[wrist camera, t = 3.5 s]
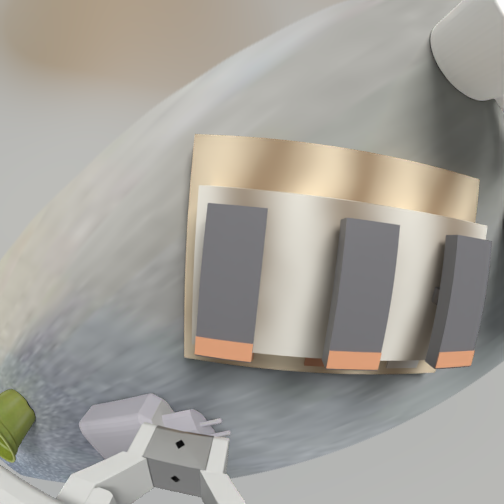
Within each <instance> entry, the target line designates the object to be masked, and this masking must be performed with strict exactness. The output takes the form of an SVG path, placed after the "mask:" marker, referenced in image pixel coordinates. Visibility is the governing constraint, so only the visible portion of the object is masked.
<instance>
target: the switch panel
mask: <svg viewBox="0 0 504 504" xmlns="http://www.w3.org/2000/svg"><path fill="white" fill-rule="evenodd" d="M479 180H480V179H477V178H473V177H470V176H467V175H463V174H460V173H456V172H453V171H449V170H445V169H442V168H438V167H434V166H430V165H426V164H422V163H418V162H413V161H409V160H404V159H400V158H395V157H390V156H386V155H380V154H375V153H370V152H365V151H359V150H353V149H347V148H341V147H334V146H328V145H321V144H313V143H305V142H297V141H288V140H279V139H268V138H256V137H243V136H226V135H203V134H195V138H194V148H193V158H192V169H191V181H190V194H189V208H188V224H187V243H186V266H185V302H184V357H185V358H191V359H197V360H203V361H210V362H216V363H223V364H231V365H238V366H247V367H255V368H265V369H275V370H286V371H299V372H314V373H335V374H414V373H434V372H435V371H436V369H434V368H433V367H431V366H430V365H429V364H428V363H426V362H425V359H426V355H427V351H428V346H429V342H430V338H431V333H432V329H433V324H434V319H435V314H436V308H437V303H438V297H439V290H440V284H441V277H442V269H443V260H444V250H445V239H446V235H462V236H468V237H473V238H478V239H484V240H485V239H486V233H487V226H485V225H481V224H477V223H475V219H476V211H477V203H478V193H479ZM208 203H216V204H228V205H239V206H250V207H260V208H268V215H267V224H266V234H265V244H264V253H263V263H262V272H261V281H260V291H259V300H258V309H257V318H256V327H255V336H254V345H253V353H252V360H251V363H245V362H237V361H230V360H222V359H215V358H209V357H202V356H196V355H195V338H196V329H197V314H198V300H199V287H200V275H201V264H202V253H203V243H204V233H205V223H206V214H207V205H208ZM344 218H354V219H361V220H369V221H376V222H383V223H389V224H396V225H400V231H399V243H398V253H397V262H396V270H395V278H394V285H393V292H392V298H391V304H390V310H389V316H388V321H387V327H386V332H385V337H384V342H383V346H382V351H381V353H382V354H381V359H380V363H379V367H378V370H377V371H361V370H329V369H325V366H324V364H323V362H322V355H323V350H324V344H325V338H326V332H327V326H328V320H329V313H330V306H331V300H332V292H333V285H334V277H335V269H336V261H337V252H338V242H339V232H340V221H341V219H344Z"/></svg>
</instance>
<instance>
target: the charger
mask: <svg viewBox="0 0 504 504" xmlns="http://www.w3.org/2000/svg"><path fill="white" fill-rule="evenodd" d="M144 422H147V423H151V424H155V425H159V426H163V427H167V428H171V429H176V430H180V431H185V432H192V433H198V434H204V435H211V436H217V437H223V436H227V435H231V431H229V430H227V431H223V432H218V433H215V431H214V429H213V428H212V427H211V425H215V424H219V423H222V419H221V418H218V419H214V420H209V421H207V420H206V419H205V417H204V416H203V415H202V414H201V413H199V412H198V411H196V410H195V409H189V410H185V411H180V412H174V411H173V410H172V408H171V407H170V406H169V404H168V403H167V402H166V401H165V400H164V399H162V398H160V397H158V396H157V395H155V394H153V393H149V394H144V395H140V396H136V397H131V398H126V399H122V400H117V401H112V402H107V403H102V404H96V405H92V406H91V408H90V409H89V410H88V412H87V413H86V414H85V415H84V417H83V418H82V419H81V421H80V422H79V427H80V430H81V432H82V433H83V435H84V436H85V438H86V439H87V440H88V441H89V442H90V443H91V445H92V446H93V447H94V448H95V449H96V450H97V451H98V452H99V453H100V454H101V456H102V457H103V458H104V459H108V458H110V457H112V456H114V455H116V454H118V453H120V452H122V451H124V452H127V451H128V449H129V447H130V445H131V444H132V442H133V440H134V438H135V436H136V434H137V432H138V430H139V429H140V427H141V425H142V424H143V423H144Z"/></svg>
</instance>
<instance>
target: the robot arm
mask: <svg viewBox="0 0 504 504" xmlns="http://www.w3.org/2000/svg"><path fill="white" fill-rule="evenodd" d="M228 452H229V438H224V437H217V436H211V435H204V434H198V433H192V432H185V431H180V430H176V429H171V428H167V427H163V426H159V425H155V424H151V423H147V422H144V423H143V424H142V425H141V427H140V429H139V430H138V432H137V434H136V436H135V438H134V440H133V442H132V444H131V445H130V447H129V449H128V451H127V452H124V451H122V452H120V453H118V454H116V455H114V456H112V457H110V458H108V459H105V460H103V461H101V462H99V463H97V464H94V465H92V466H90V467H88V468H85V469H83V470H81V471H78V472H76V473H73V474H71V476H70V477H69V479H68V480H67V482H66V483H65V485H64V487H63V488H62V490H61V491H60V493H59V494H58V496H57V497H56V499H55V498H53V497H51V496H50V495H48V494H45V493H44V492H42V491H41V490H39V489H37V488H35V487H34V486H32V485H30V484H29V483H27V482H25V481H24V480H22V479H21V478H19V477H18V476H16V475H15V474H13V473H12V472H10V471H9V470H7V469H5V468H4V467H3V466H1V465H0V504H131V503H133V502H134V501H136V500H137V499H139V498H140V497H141V496H143V495H144V494H146V493H147V492H149V491H150V490H152V489H153V488H154V487H157V488H161V489H166V490H170V491H175V492H180V493H184V494H189V495H194V496H198V497H202V500H203V502H204V504H246V502H245V501H244V499H243V498H242V496H241V495H240V493H239V492H238V490H237V489H236V487H235V486H234V484H233V482H232V481H231V479H230V478H229V476H228V474H226V471H227V463H228Z"/></svg>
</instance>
